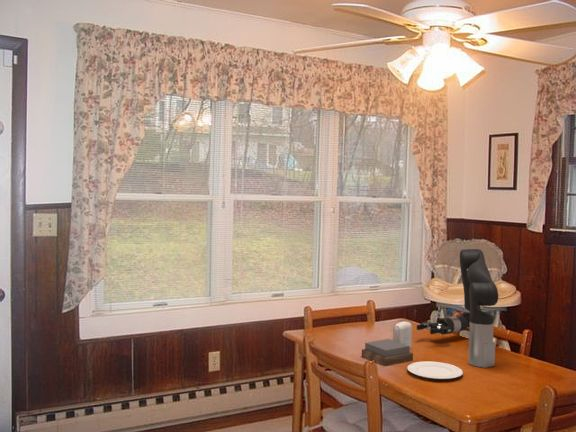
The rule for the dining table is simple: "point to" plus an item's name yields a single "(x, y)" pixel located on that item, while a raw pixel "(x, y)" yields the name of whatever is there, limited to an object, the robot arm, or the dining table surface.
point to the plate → (435, 370)
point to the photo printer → (403, 333)
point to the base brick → (387, 360)
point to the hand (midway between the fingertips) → (423, 329)
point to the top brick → (387, 348)
